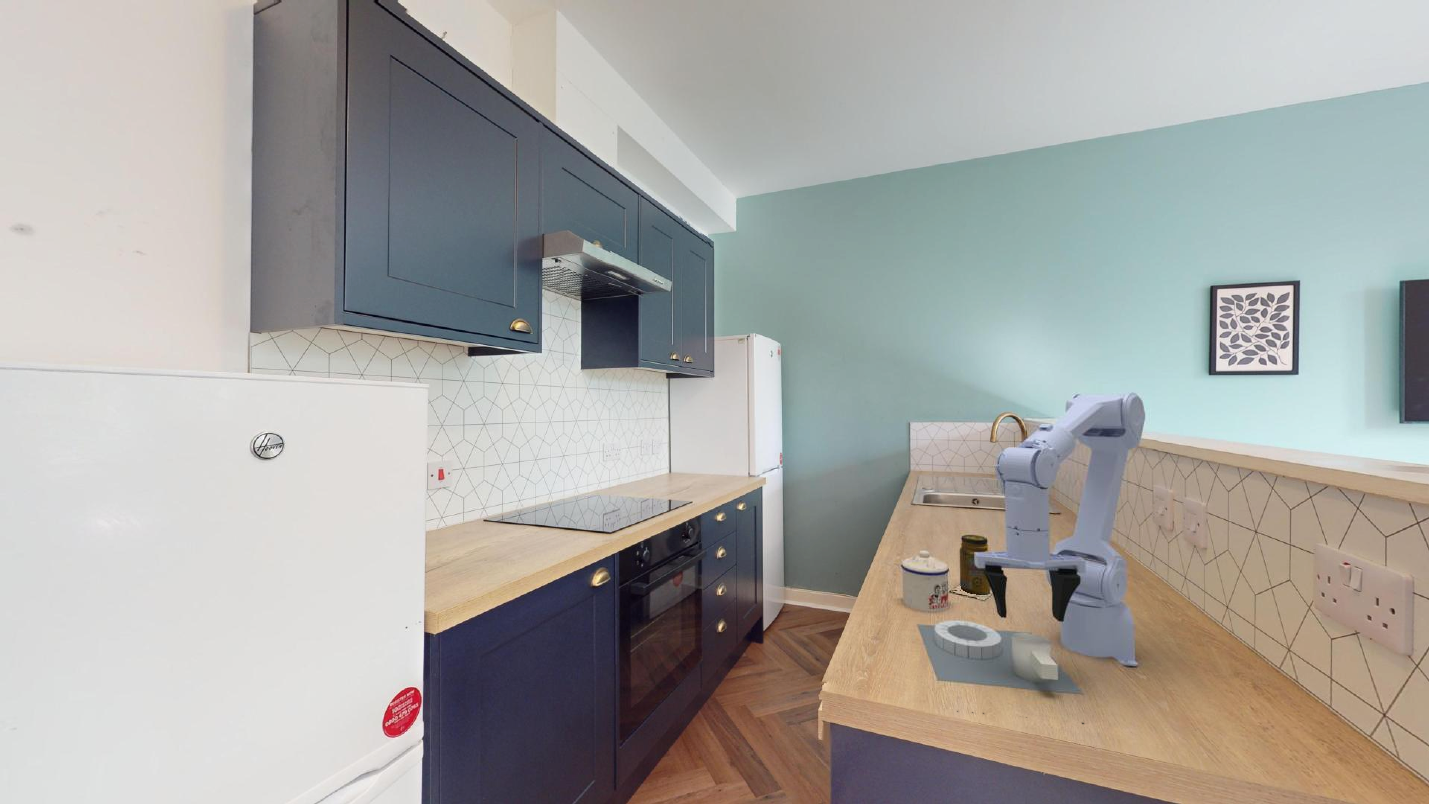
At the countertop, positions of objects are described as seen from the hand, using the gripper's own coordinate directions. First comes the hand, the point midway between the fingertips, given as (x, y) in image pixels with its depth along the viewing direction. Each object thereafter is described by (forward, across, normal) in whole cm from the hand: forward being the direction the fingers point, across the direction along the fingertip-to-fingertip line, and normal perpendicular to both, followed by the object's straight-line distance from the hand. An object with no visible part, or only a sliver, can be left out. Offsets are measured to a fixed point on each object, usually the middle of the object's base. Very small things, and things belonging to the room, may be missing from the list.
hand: (1029, 617), depth 78 cm
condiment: (+10, +1, +38) cm, 39 cm away
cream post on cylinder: (+8, 0, -2) cm, 9 cm away
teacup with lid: (+10, -10, +27) cm, 30 cm away
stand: (+9, -5, +5) cm, 11 cm away
